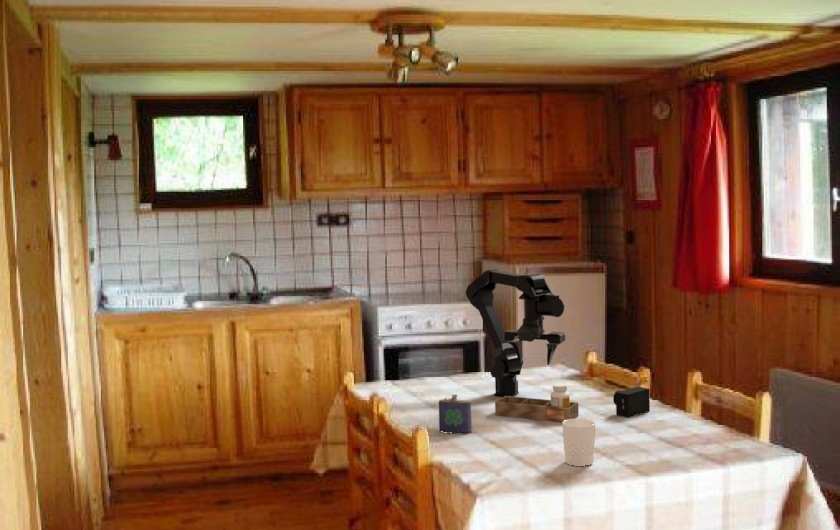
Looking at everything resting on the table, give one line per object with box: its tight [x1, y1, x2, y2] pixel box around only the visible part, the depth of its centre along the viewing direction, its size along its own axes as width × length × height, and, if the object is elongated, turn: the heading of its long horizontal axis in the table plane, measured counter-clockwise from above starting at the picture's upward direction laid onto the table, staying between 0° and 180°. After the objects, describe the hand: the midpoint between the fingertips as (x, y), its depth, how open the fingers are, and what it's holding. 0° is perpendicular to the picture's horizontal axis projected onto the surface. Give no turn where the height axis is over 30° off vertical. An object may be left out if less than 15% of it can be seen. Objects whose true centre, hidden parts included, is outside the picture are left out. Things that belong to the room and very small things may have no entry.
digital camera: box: [612, 386, 651, 419], centre depth 263 cm, size 10×5×7 cm, turn 129°
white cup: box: [561, 418, 596, 467], centre depth 217 cm, size 8×8×10 cm
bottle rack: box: [494, 396, 580, 423], centre depth 263 cm, size 23×8×4 cm, turn 62°
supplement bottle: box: [550, 383, 571, 408], centre depth 259 cm, size 5×5×10 cm
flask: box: [438, 394, 473, 434], centre depth 248 cm, size 9×3×11 cm, turn 74°
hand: (534, 363), depth 279 cm, fingers open, 9 cm apart
